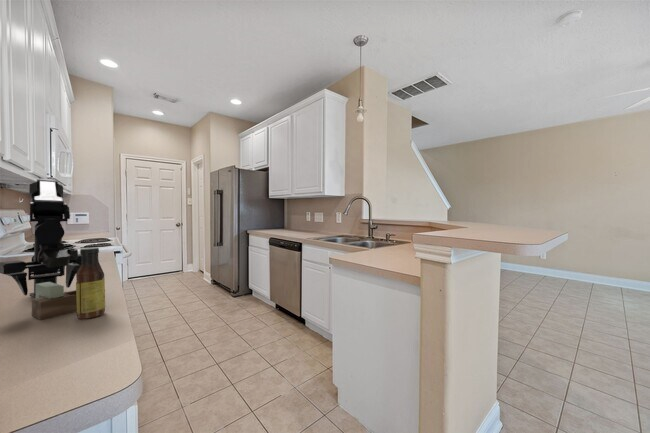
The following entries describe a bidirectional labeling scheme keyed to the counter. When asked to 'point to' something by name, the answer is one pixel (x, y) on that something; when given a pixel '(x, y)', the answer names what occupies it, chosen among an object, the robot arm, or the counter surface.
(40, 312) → the brown cubby organizer
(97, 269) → the sauce bottle
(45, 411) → the counter surface
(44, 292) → the green block
